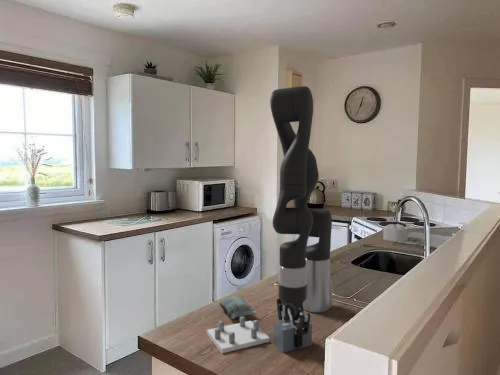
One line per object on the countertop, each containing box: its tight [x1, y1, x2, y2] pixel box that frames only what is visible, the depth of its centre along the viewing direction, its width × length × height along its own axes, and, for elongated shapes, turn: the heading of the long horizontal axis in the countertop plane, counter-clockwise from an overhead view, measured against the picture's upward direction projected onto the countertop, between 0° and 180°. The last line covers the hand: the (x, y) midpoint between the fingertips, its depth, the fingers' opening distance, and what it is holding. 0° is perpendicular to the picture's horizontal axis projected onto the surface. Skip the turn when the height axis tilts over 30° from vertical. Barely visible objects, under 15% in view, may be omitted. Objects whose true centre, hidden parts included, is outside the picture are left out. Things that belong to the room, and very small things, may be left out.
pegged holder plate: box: [206, 316, 270, 354], centre depth 109 cm, size 14×12×4 cm
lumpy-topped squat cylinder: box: [382, 223, 409, 242], centre depth 228 cm, size 10×13×9 cm
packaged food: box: [219, 295, 257, 320], centre depth 125 cm, size 9×12×5 cm
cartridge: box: [273, 319, 313, 353], centre depth 105 cm, size 9×5×6 cm, turn 115°
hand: (292, 342), depth 105 cm, fingers closed on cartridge, 5 cm apart
